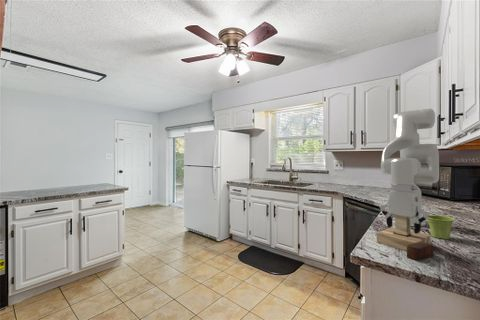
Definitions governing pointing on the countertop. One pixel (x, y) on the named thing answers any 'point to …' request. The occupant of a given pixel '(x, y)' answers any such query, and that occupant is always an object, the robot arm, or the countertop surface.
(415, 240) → the seat board
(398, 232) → the peg
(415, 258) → the brick
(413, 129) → the robot arm
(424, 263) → the countertop surface
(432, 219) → the plant pot
